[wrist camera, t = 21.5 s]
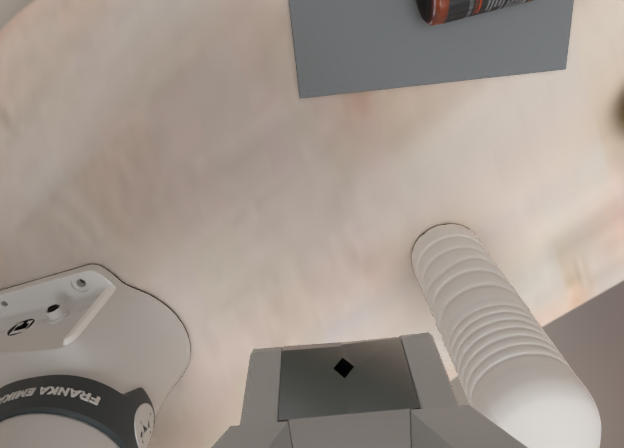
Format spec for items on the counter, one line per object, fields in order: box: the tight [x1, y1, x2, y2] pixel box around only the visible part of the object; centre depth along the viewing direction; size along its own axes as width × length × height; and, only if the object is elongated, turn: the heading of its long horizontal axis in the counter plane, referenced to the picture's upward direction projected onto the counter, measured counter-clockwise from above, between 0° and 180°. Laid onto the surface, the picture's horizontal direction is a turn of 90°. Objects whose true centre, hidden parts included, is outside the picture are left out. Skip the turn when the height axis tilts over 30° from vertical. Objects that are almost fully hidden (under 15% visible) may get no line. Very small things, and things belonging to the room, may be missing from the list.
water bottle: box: [411, 224, 601, 448], centre depth 34 cm, size 9×6×25 cm
